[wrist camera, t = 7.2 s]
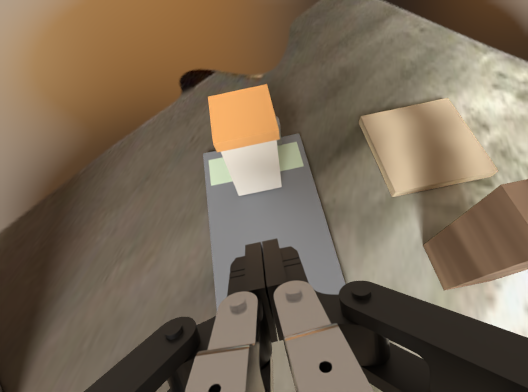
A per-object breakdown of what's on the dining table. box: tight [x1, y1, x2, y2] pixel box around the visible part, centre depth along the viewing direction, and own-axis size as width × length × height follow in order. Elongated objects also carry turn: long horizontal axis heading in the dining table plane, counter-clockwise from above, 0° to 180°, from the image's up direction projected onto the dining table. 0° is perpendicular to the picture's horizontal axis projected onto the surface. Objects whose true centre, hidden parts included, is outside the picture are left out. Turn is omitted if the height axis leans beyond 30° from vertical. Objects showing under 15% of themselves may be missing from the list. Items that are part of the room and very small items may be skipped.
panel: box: [203, 116, 345, 311], centre depth 24 cm, size 10×16×4 cm, turn 10°
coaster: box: [359, 98, 499, 197], centre depth 27 cm, size 9×9×1 cm
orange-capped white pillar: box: [208, 84, 282, 196], centre depth 23 cm, size 4×4×8 cm
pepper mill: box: [423, 179, 528, 290], centre depth 17 cm, size 4×4×11 cm
